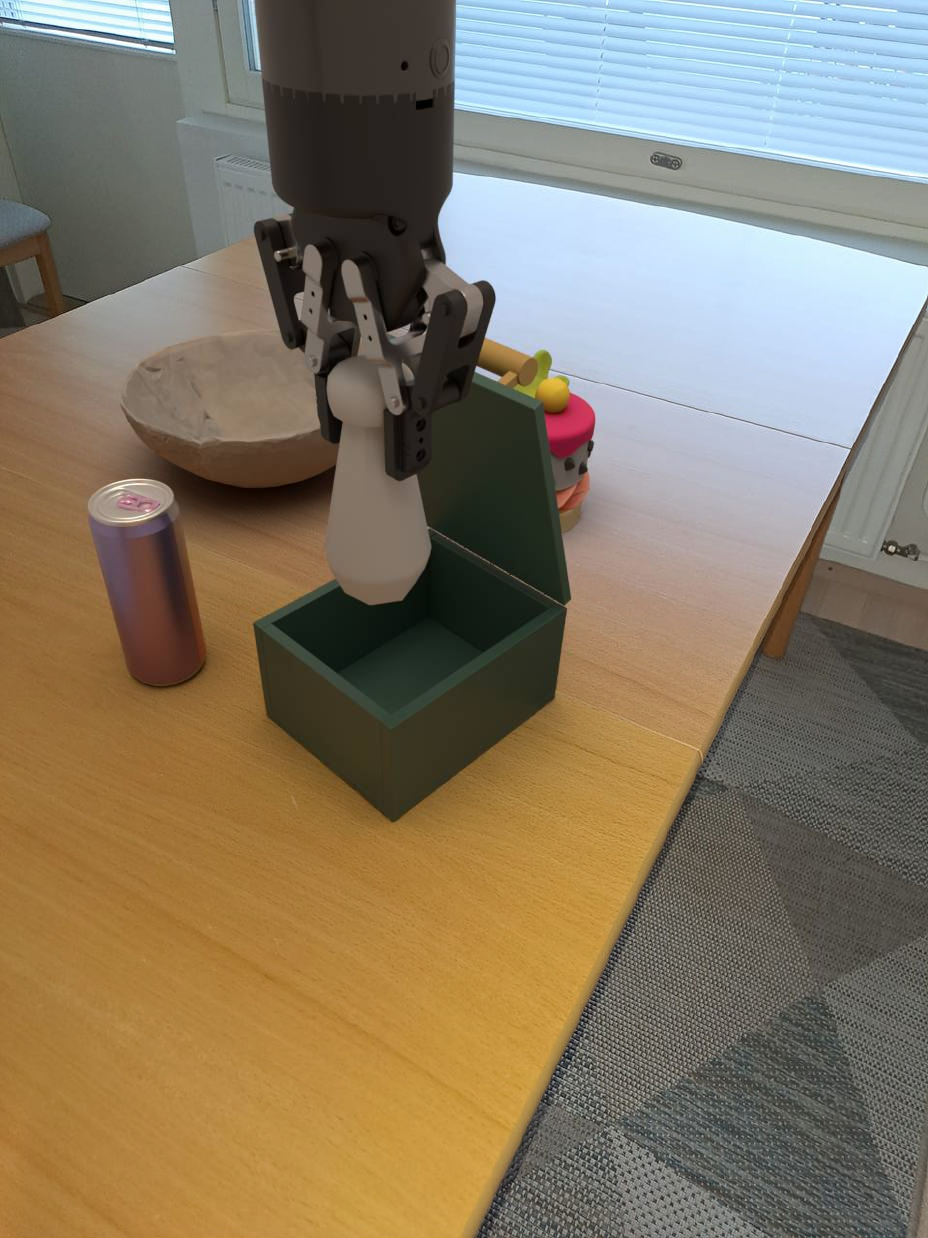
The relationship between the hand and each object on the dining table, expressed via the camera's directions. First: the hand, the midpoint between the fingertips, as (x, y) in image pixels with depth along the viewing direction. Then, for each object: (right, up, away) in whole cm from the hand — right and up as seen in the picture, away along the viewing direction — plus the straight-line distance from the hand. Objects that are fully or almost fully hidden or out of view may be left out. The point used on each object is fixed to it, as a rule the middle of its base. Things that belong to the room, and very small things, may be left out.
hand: (373, 453), depth 46 cm
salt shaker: (0, -7, +5) cm, 8 cm away
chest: (+1, -15, +22) cm, 27 cm away
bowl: (-16, +8, +49) cm, 52 cm away
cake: (+11, +2, +44) cm, 45 cm away
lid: (+5, +1, +14) cm, 15 cm away
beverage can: (-19, -12, +25) cm, 33 cm away
